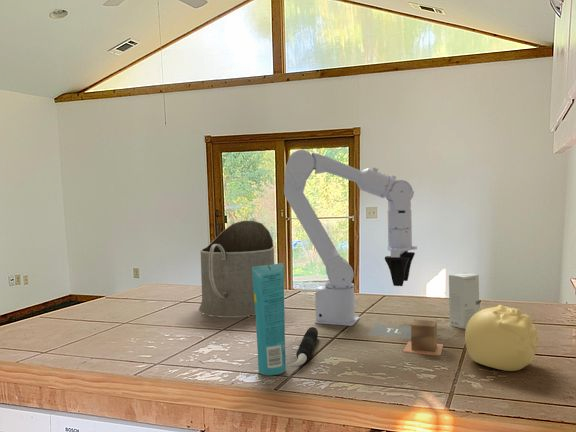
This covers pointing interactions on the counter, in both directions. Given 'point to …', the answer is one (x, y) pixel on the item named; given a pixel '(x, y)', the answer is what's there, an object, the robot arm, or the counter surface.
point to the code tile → (391, 331)
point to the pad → (437, 351)
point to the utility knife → (306, 347)
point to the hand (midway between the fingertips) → (400, 283)
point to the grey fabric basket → (234, 268)
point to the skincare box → (463, 298)
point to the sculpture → (501, 338)
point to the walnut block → (424, 335)
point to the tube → (270, 318)
